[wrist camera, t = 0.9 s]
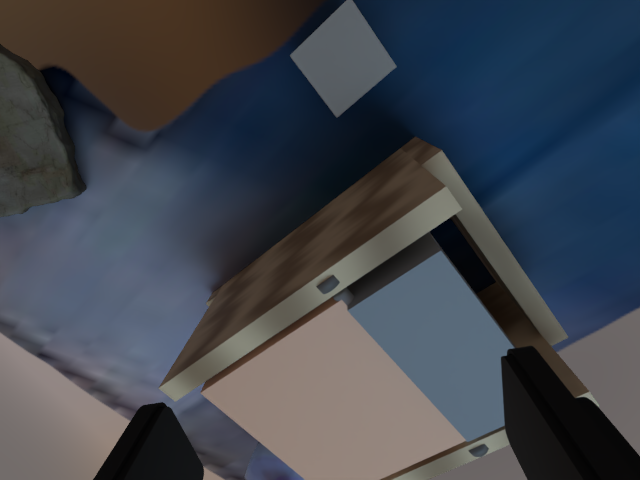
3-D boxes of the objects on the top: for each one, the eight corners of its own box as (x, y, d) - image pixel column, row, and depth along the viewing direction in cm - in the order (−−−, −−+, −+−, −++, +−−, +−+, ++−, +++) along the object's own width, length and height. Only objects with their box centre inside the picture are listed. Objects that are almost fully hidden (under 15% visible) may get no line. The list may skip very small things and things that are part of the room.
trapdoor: (416, 215, 21) (433, 240, 17) (527, 362, 25) (560, 409, 21) (215, 354, 26) (195, 397, 22) (333, 458, 30) (332, 509, 26)
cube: (348, 15, 26) (349, -4, 21) (386, 72, 27) (396, 66, 22) (298, 62, 27) (289, 55, 22) (337, 114, 28) (336, 117, 24)
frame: (415, 136, 28) (476, 167, 16) (517, 284, 33) (627, 399, 21) (212, 293, 36) (142, 401, 23) (321, 396, 40) (313, 533, 28)
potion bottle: (298, 453, 45) (284, 571, 34) (244, 421, 43) (211, 534, 32) (341, 419, 42) (342, 534, 31) (285, 383, 40) (265, 492, 29)
